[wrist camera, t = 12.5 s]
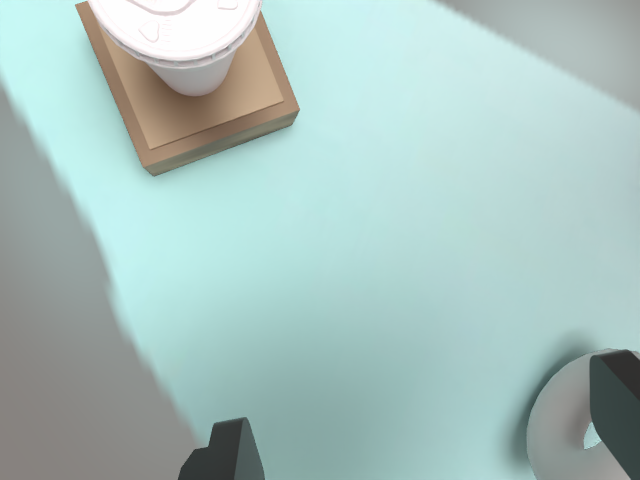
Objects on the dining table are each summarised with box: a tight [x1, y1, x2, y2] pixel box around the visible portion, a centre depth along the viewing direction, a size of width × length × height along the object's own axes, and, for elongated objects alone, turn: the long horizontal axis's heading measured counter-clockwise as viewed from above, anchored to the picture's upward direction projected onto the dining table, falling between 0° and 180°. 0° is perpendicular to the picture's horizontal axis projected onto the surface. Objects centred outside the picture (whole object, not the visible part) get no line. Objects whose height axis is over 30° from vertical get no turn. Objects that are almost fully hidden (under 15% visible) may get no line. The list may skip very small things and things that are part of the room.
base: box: [75, 1, 300, 176], centre depth 30 cm, size 9×9×4 cm
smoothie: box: [88, 0, 262, 96], centre depth 21 cm, size 6×6×14 cm
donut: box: [527, 349, 640, 480], centre depth 32 cm, size 10×3×10 cm, turn 146°
